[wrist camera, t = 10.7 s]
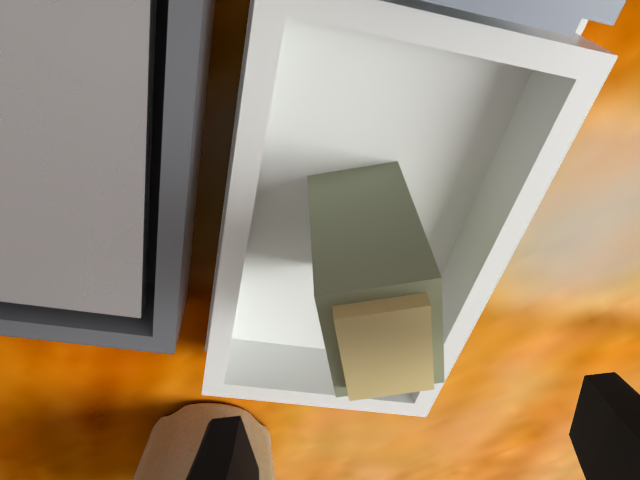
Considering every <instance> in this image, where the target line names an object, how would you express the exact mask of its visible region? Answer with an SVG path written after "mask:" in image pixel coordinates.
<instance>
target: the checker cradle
mask: <svg viewBox="0 0 640 480" xmlns="http://www.w3.org/2000/svg"><path fill="white" fill-rule="evenodd" d="M215 2H216V0H157V13H156V41H155V69H154V97H153V124H152V152H151V180H150V207H149V235H148V263H147V291H146V305H145V308H144V311H143V314H142V317H141V318H134V317H126V316H117V315H109V314H101V313H92V312H84V311H76V310H67V309H59V308H51V307H42V306H34V305H26V304H17V303H9V302H1V301H0V335H1V336H10V337H19V338H29V339H38V340H47V341H56V342H65V343H74V344H83V345H92V346H101V347H110V348H119V349H128V350H137V351H147V352H156V353H165V354H174V352H175V348H176V344H177V340H178V336H179V332H180V327H181V323H182V319H183V315H184V311H185V307H186V303H187V296H188V285H189V275H190V264H191V254H192V243H193V233H194V222H195V212H196V201H197V191H198V180H199V170H200V160H201V149H202V139H203V128H204V118H205V107H206V97H207V86H208V76H209V65H210V55H211V44H212V34H213V23H214V13H215Z"/></svg>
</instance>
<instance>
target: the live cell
mask: <svg viewBox="0 0 640 480" xmlns="http://www.w3.org/2000/svg"><path fill="white" fill-rule="evenodd" d="M307 181H308V198H309V216H310V234H311V251H312V269H313V286H314V299H315V303H316V308H317V313H318V317H319V322H320V326H321V331H322V336H323V340H324V345H325V349H326V354H327V359H328V363H329V368H330V372H331V377H332V382H333V386H334V391H335V396H336V397H343V396H348V397H349V401H355V400H362V399H369V398H376V397H383V396H391V395H398V394H405V393H412V392H419V391H427V390H434V384H436V383H444V342H443V300H442V277H441V274H440V271H439V269H438V266H437V263H436V261H435V258H434V255H433V253H432V250H431V248H430V245H429V242H428V240H427V237H426V234H425V232H424V229H423V226H422V224H421V221H420V218H419V216H418V213H417V211H416V208H415V205H414V203H413V200H412V197H411V195H410V192H409V189H408V187H407V184H406V182H405V179H404V176H403V174H402V171H401V168H400V166H399V163H398V161H396V162H390V163H383V164H377V165H371V166H365V167H359V168H352V169H346V170H340V171H334V172H328V173H321V174H315V175H309V176H307Z"/></svg>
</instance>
